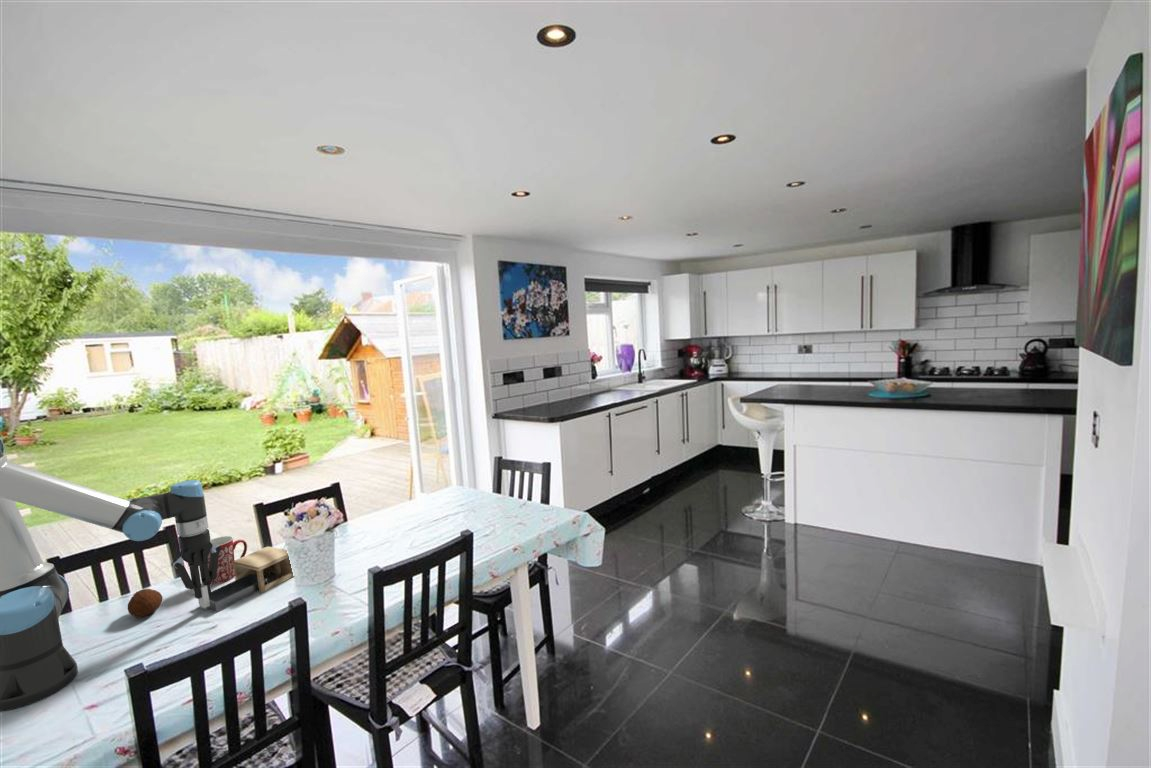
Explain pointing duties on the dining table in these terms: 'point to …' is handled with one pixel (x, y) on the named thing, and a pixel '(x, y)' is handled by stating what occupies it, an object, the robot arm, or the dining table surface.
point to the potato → (144, 602)
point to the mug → (226, 557)
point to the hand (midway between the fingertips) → (204, 606)
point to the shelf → (264, 566)
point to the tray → (233, 592)
